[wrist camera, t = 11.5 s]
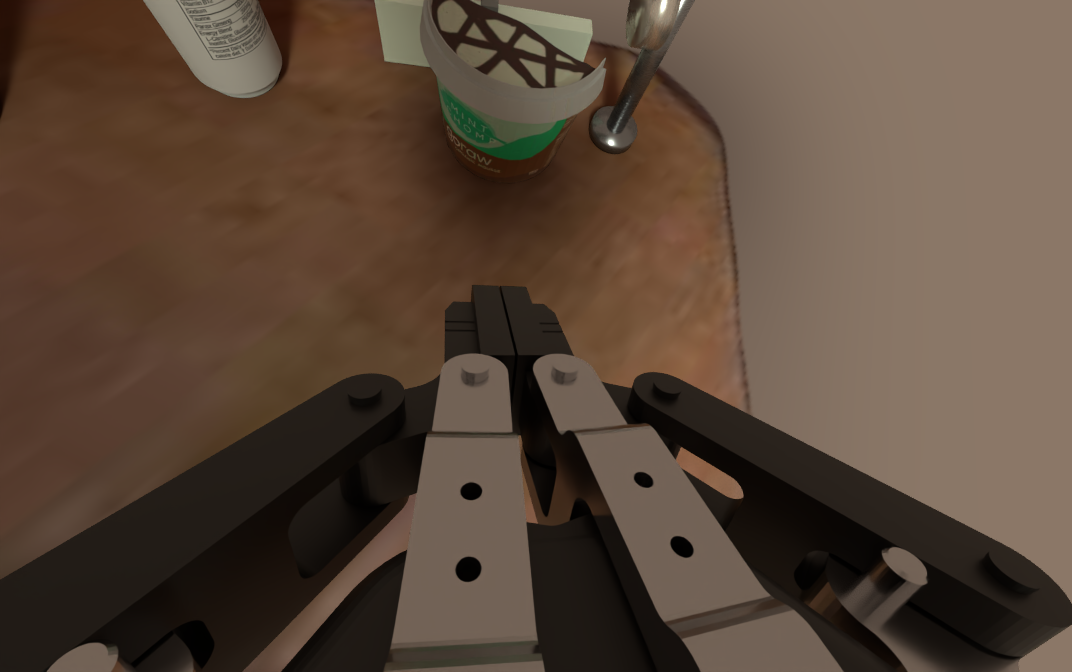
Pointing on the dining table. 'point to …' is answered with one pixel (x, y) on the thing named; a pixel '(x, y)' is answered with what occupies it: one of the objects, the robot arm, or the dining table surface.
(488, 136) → the food container
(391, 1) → the rail
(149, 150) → the dining table surface
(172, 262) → the dining table surface
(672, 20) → the post
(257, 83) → the energy drink can
